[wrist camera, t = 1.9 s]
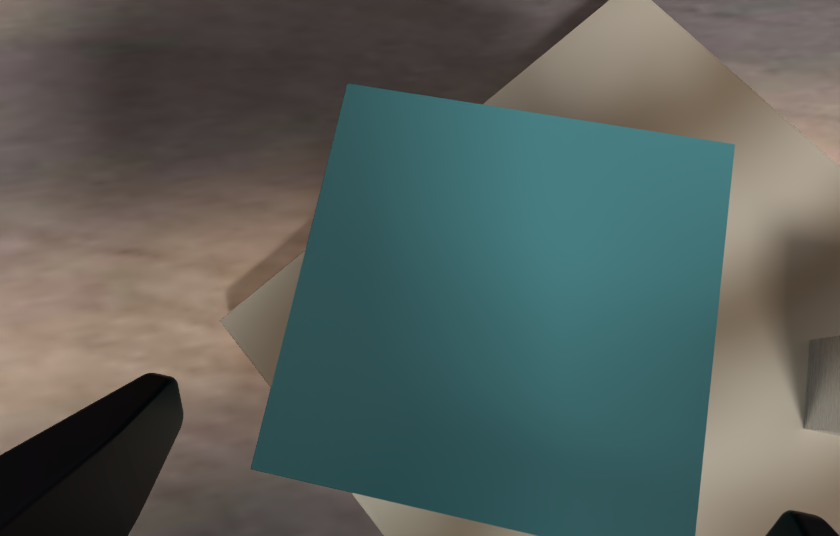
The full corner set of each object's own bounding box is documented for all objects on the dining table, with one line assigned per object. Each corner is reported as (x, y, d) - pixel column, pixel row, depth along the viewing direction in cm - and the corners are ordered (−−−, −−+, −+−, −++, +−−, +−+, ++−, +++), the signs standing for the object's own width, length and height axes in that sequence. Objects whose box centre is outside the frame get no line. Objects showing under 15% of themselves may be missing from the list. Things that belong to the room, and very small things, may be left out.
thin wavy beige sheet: (1110, 438, 17) (1150, 441, 16) (670, 894, 15) (684, 928, 14) (622, 1, 21) (631, -18, 20) (231, 324, 19) (219, 320, 18)
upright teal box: (552, 465, 17) (691, 570, 7) (366, 424, 17) (250, 469, 7) (581, 280, 18) (734, 143, 8) (405, 247, 18) (347, 83, 9)
